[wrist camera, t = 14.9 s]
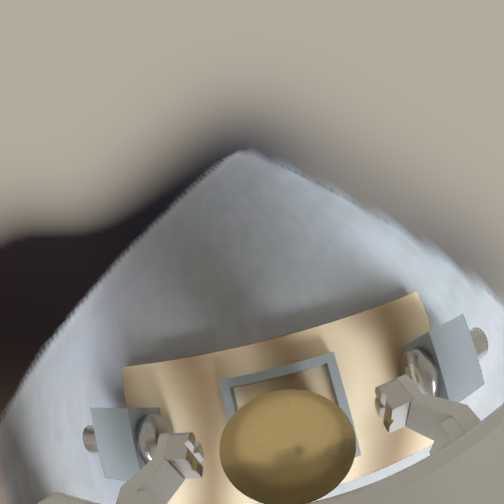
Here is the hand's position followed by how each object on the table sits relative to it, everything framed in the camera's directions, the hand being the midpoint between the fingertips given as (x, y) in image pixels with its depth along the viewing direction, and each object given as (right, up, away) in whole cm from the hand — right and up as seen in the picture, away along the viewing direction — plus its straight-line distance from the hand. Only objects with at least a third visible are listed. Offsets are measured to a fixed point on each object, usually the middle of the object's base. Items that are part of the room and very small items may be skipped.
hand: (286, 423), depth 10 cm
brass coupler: (+1, -4, +6) cm, 7 cm away
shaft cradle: (+1, -5, +7) cm, 8 cm away
